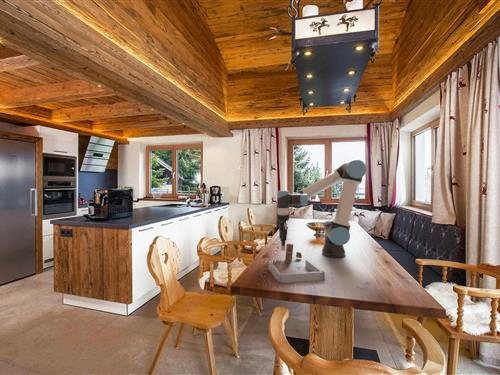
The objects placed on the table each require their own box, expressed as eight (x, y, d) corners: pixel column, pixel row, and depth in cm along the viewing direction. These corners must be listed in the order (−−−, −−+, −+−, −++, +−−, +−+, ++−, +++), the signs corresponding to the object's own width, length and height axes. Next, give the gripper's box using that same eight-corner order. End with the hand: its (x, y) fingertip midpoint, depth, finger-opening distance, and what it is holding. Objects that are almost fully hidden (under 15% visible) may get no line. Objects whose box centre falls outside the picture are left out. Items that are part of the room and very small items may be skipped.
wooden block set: (292, 267, 148) (293, 250, 147) (278, 263, 152) (280, 247, 152) (301, 259, 164) (303, 244, 163) (289, 256, 168) (290, 241, 167)
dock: (307, 266, 149) (307, 259, 149) (324, 280, 128) (324, 272, 128) (268, 268, 145) (268, 261, 145) (279, 283, 124) (279, 275, 124)
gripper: (274, 213, 170) (274, 248, 170) (280, 215, 157) (280, 253, 157) (285, 213, 171) (285, 247, 171) (291, 215, 158) (291, 252, 159)
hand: (282, 250), depth 164 cm, fingers closed
